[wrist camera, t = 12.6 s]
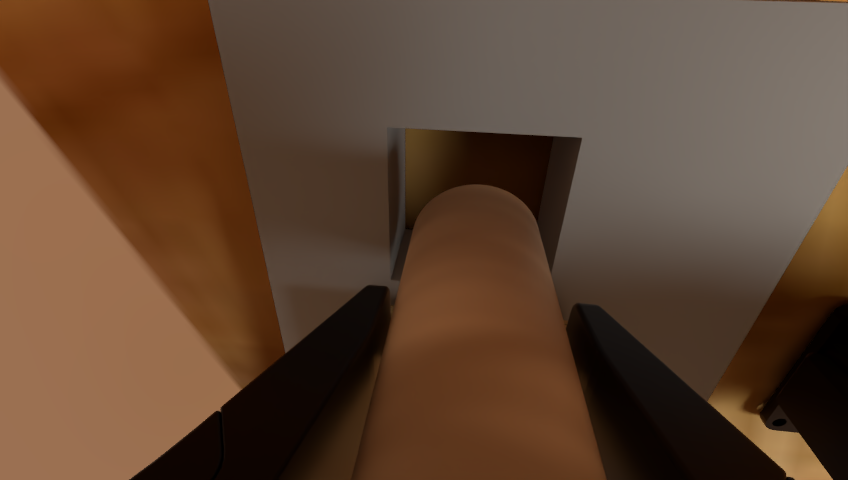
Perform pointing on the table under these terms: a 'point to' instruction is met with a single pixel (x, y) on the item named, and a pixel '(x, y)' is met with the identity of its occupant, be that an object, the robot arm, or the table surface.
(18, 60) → the table surface
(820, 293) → the table surface
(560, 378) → the birch peg
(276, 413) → the robot arm
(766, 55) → the base plate
